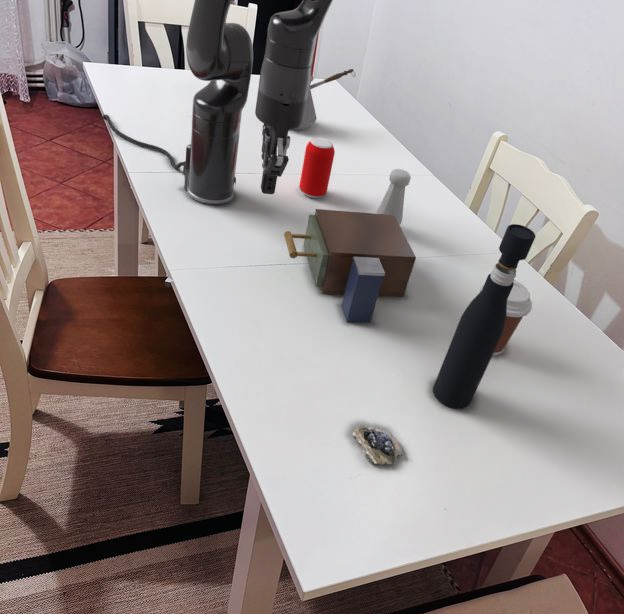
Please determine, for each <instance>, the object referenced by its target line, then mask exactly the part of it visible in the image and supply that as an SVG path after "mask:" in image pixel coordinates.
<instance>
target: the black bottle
mask: <svg viewBox="0 0 624 614" xmlns="http://www.w3.org/2000/svg"><path fill="white" fill-rule="evenodd" d="M535 239H536V234H535V232H534V231H533V230H532V229H531V228H529V227H527V226H525V225H522V224H517V223H512V224H509V225H508V226H507V227H506V229H505V232H504V234H503V237H502V239H501V242H500V244H499V246H498V250H499V252H500V253H501V255H500V257H499V259H498V261H497V262H496V263H495V264H494V266H492V270H491V271H490V273H488V275H487V277H486V279H485V282H484V284H483V285H484V286H483V285H482V286H483V289H482V291H481V292H480V291H479V292H478V294H476V296H475V297H474V298H473V299H472V300H471V301H470V302H469V304H467V306H466V308H465V310H464V311H463V313H462V315H461V317H460V319H459V321H458V323H457V326H456V328H455V331H454V334H453V336H452V339H451V341H450V344H449V346H448V349H447V351H446V354H445V357H444V359H443V361H442V364H441V366H440V369H439V371H438V373H437V377H436V378H435V382H434V384H433V386H432V393H433V396H434V398H435V399H436V400H437V401H438V402H439V403H440V404H442V405H444V406H445V407H448V408H450V409H456V410H462V409H465V408H468V407H469V406H470V405H471V403H472V401H473V399H474V396H475V395H476V392H477V390H478V388H479V385H480V384H481V381H482V379H483V377H484V374H485V372H486V371H487V368H488V366H489V364H490V362H491V359H492V358H493V356H494V355H493V353H494V351H495V349H496V346H497V344H498V342H499V340H500V338H501V335H502V333H503V330H504V326H505V321H506V314H507V299H508V297H509V295H510V292H511V290H512V288H513V285H514V284H513V282H514V280H515V278H516V277H517V269H518V265H519V263H520V261H524V260H526V259H527V257H528V255H529V252H530V250H531V248H532V246H533V244H534V242H535Z"/></svg>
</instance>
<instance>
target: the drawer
mask: <svg viewBox="0 0 624 614" xmlns="http://www.w3.org/2000/svg"><path fill="white" fill-rule="evenodd" d="M305 229H306V230H305V233H303V234H302V233H292V232H291V231H290V230H287V231H285V232H284V234H283V236H284V240H285V244H286V247H287V248H286V249H287V251H288V255H289V258H291V259H296V258H297V257H304V258H305V257H306V260H307V262H308V265H309V266H308V267H309V269H310V272H311V276H312V279H313V282H314V285H315V286H314V287H315V288H320V287H322V286H323V282H324V277H325V273H326V268H327V263H328V259H329V251H328V248H327V246H326V243H325V240H324V237H323V234H322V231H321V230H320V227H319V224H318V221H317V218H316V216H315V214H309V215H308V219H307V224H306V228H305ZM294 239H304V240H303V245H302V246H303V250H304V251H297V248H296V244H295V240H294Z"/></svg>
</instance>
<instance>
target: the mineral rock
mask: <svg viewBox="0 0 624 614" xmlns="http://www.w3.org/2000/svg"><path fill="white" fill-rule="evenodd" d="M352 436H353V437H354V438H355V439H356V440H355V441H356V442H357V443H359V446H360V447H361V448H362V452H363V453H365V457H366V460H368V462H369V463H371V464H373V465H374V464H375V465H380V466H381V465H385V464H387V465H392V464H393V463H394V460H395V461H397V459H398V456H402V455H405V450H404V449H403V447H402V445H401V443H400V441H399V440H397V439H396V437H395V436H394V435H393V434H392V433H391V432H389V431H387V430H386V429H384V428H379V427H375V428H374V427H373V426H367V425H359V426H357V427H354V430H352Z"/></svg>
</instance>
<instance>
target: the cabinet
mask: <svg viewBox="0 0 624 614" xmlns="http://www.w3.org/2000/svg"><path fill="white" fill-rule="evenodd" d="M314 215H315V216H316V218H317V221H318V224H319V227H320V230H321V231H322V234H323V237H324V240H325V243H326V246H327V248H328V251H329V259H328V263H327V268H326V273H325V277H324V282H323V286H322V287H319V288H320V291H321V294H326V295H328V294H329V295H344V293H345V289H346V285H347V281H348V277H349V273H350V269H351V265H352V261H353V257H369V258H379V261H380V263H381V265H382V267H383V270H384V272H385V276H384V278H383V281H382V284H381V288H380V291H379V295H378V297H402V298H403V297H404V296H405V293H406V291H407V287H408V284H409V281H410V278H411V276H412V272H413V268H414V266H415V262H416V259H417V256H416V255H415V252H414V250H413V249H412V246H411V245H410V243H409V241H408V239H407V236H406V235H405V233H404V231H403V229H402V228H401V225H399V223H398V222H397V220H396V218H395V216H394V215H387V214H376V213H374V212H373V213H372V212H361V211H347V210H336V209H335V210H333V209H323V208H315V211H314Z"/></svg>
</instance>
